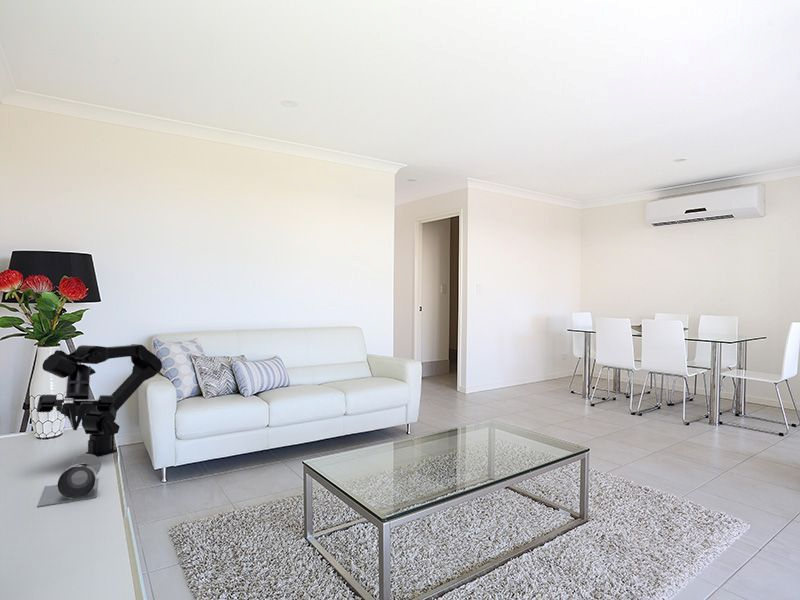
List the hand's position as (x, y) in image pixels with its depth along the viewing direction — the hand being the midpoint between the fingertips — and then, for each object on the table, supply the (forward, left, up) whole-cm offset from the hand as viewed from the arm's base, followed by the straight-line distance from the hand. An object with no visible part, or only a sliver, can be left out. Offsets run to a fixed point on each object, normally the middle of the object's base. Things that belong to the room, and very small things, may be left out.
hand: (75, 429), depth 138 cm
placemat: (+9, +14, -12) cm, 21 cm away
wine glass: (+2, +8, -9) cm, 12 cm away
